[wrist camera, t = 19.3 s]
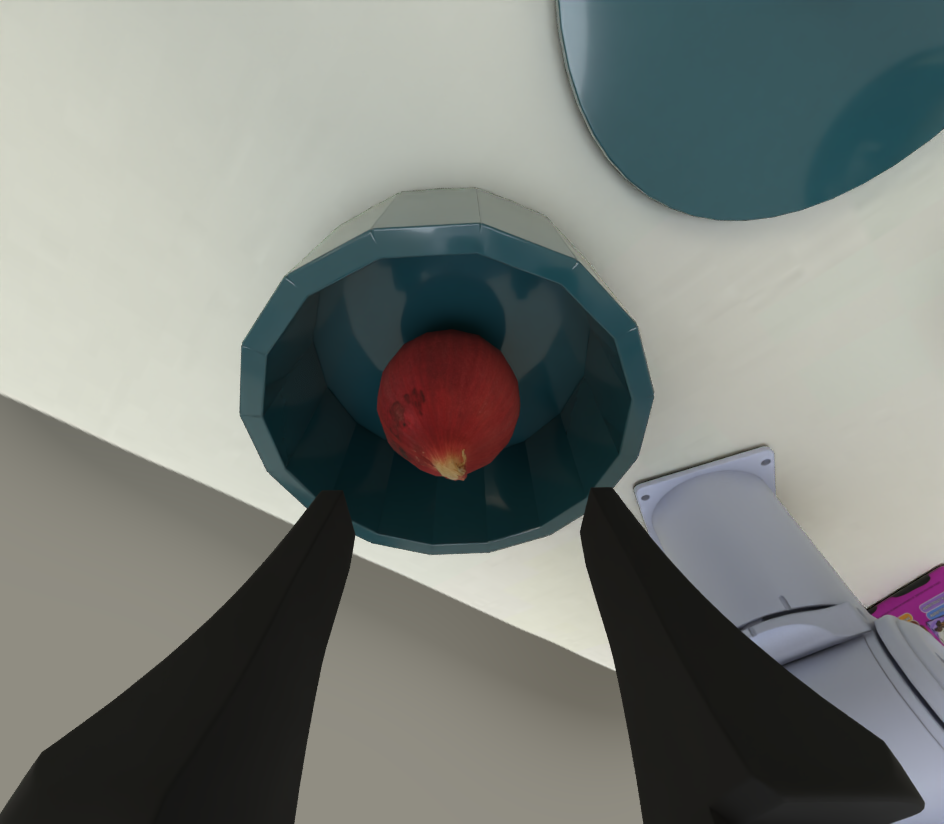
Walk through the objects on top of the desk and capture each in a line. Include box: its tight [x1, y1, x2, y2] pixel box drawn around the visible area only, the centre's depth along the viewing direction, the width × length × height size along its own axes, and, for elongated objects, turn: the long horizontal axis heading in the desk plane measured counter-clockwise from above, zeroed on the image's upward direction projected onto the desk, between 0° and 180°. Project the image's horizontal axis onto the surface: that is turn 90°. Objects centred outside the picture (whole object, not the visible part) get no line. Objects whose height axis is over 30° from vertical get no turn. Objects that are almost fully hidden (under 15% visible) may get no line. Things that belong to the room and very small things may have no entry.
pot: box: [240, 188, 654, 555], centre depth 18 cm, size 15×15×6 cm
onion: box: [377, 329, 520, 481], centre depth 17 cm, size 6×6×8 cm
